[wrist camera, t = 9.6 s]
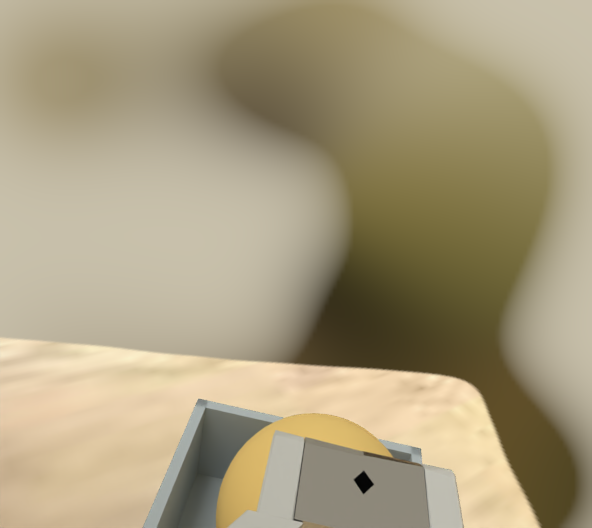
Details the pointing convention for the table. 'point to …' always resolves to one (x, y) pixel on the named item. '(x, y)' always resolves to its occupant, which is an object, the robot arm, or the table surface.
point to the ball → (254, 455)
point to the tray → (215, 464)
